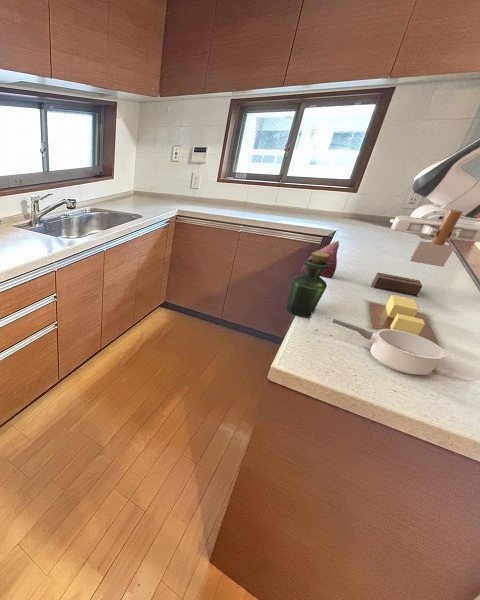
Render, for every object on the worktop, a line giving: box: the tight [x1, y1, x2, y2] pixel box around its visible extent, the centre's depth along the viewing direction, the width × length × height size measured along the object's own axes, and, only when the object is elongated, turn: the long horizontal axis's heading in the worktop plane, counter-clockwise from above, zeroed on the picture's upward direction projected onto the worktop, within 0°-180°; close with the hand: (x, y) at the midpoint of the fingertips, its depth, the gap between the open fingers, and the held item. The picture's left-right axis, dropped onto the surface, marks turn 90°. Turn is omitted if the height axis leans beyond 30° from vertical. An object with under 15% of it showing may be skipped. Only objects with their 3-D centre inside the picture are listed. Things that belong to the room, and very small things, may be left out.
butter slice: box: [390, 314, 425, 336], centre depth 83 cm, size 5×3×4 cm, turn 53°
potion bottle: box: [285, 251, 329, 318], centre depth 92 cm, size 8×8×18 cm
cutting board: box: [368, 301, 440, 347], centre depth 90 cm, size 13×20×2 cm, turn 143°
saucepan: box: [331, 318, 446, 376], centre depth 76 cm, size 12×20×6 cm, turn 47°
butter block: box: [385, 294, 419, 318], centre depth 92 cm, size 5×8×4 cm, turn 143°
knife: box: [409, 210, 463, 268], centre depth 88 cm, size 7×3×15 cm, turn 53°
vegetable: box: [300, 240, 340, 280], centre depth 121 cm, size 10×10×15 cm
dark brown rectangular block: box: [371, 272, 423, 297], centre depth 109 cm, size 11×6×5 cm, turn 53°
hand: (444, 233), depth 87 cm, fingers closed on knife, 2 cm apart
